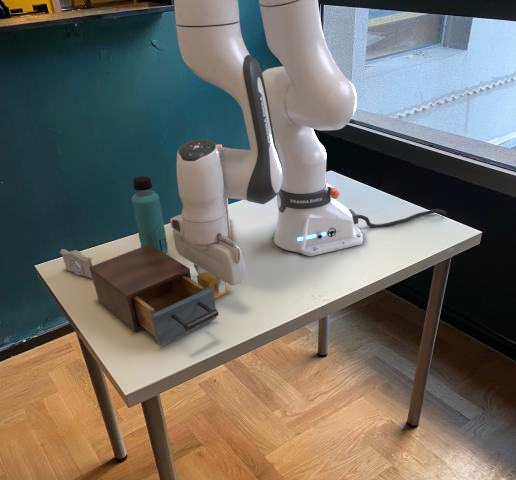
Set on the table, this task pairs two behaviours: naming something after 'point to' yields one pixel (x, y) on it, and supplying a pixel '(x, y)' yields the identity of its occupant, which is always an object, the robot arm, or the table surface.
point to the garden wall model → (82, 261)
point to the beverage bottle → (149, 215)
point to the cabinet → (133, 279)
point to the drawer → (174, 308)
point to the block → (209, 282)
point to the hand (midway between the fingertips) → (212, 286)
